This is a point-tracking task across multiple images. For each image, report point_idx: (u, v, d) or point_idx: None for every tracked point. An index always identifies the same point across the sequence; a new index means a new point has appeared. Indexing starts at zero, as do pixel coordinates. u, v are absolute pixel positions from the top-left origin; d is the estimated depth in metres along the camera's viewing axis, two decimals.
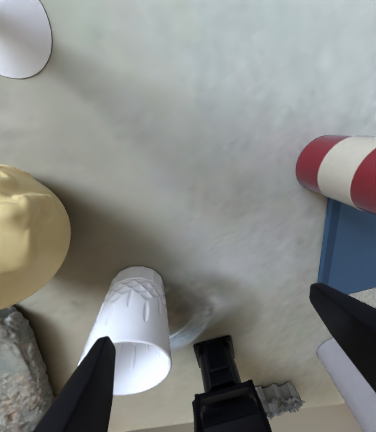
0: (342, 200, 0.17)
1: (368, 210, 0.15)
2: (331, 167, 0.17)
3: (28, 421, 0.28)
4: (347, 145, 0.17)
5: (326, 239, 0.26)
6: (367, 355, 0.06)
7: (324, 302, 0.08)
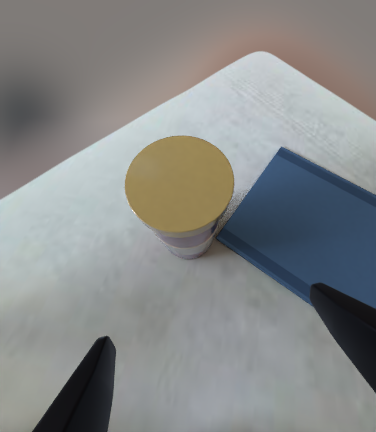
0: (185, 250, 0.17)
1: (184, 245, 0.15)
2: None
3: None
4: None
5: (276, 277, 0.21)
6: (367, 355, 0.06)
7: (324, 302, 0.08)
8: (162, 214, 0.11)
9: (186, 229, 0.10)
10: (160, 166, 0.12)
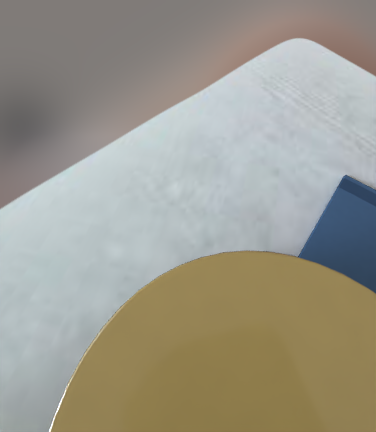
0: None
1: None
2: None
3: None
4: None
5: None
6: None
7: None
8: None
9: None
10: (187, 410, 0.03)
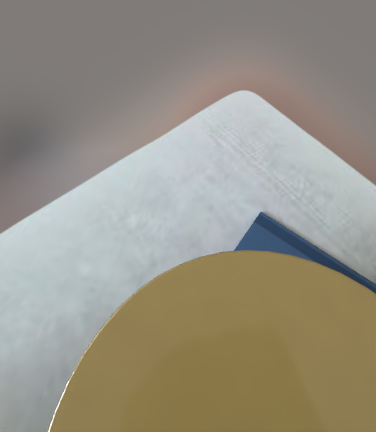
0: None
1: None
2: None
3: None
4: None
5: None
6: None
7: None
8: None
9: None
10: (186, 409, 0.03)
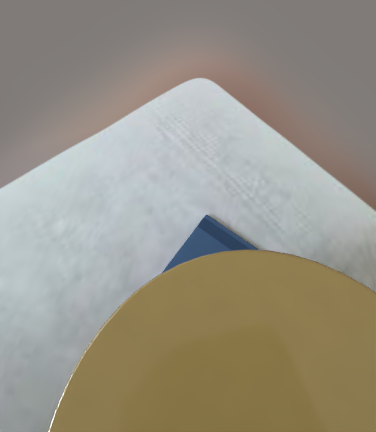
0: None
1: None
2: None
3: None
4: None
5: None
6: None
7: None
8: None
9: None
10: (186, 409, 0.03)
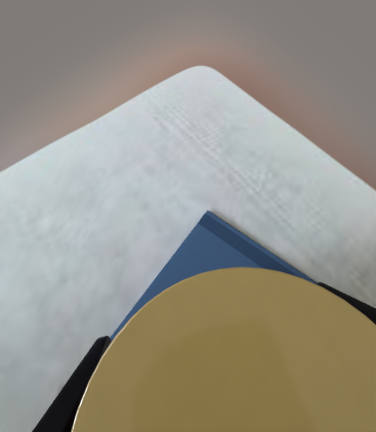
0: None
1: None
2: None
3: None
4: None
5: None
6: None
7: None
8: None
9: None
10: (189, 405, 0.03)
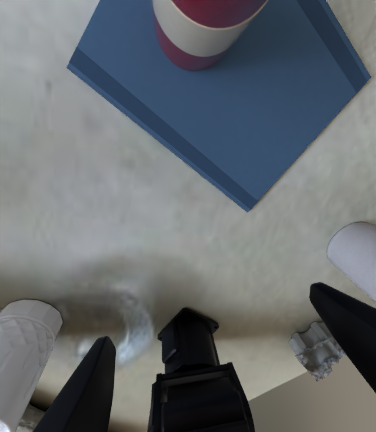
0: (210, 39, 0.10)
1: (225, 13, 0.08)
2: (159, 12, 0.10)
3: None
4: None
5: (154, 134, 0.17)
6: (367, 355, 0.06)
7: (324, 302, 0.08)
8: None
9: None
10: None
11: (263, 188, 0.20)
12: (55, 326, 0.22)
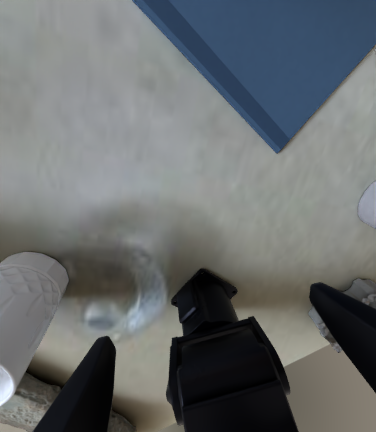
0: None
1: None
2: None
3: None
4: None
5: (180, 44, 0.14)
6: (367, 355, 0.06)
7: (324, 302, 0.08)
8: None
9: None
10: None
11: (297, 123, 0.18)
12: (61, 282, 0.20)
